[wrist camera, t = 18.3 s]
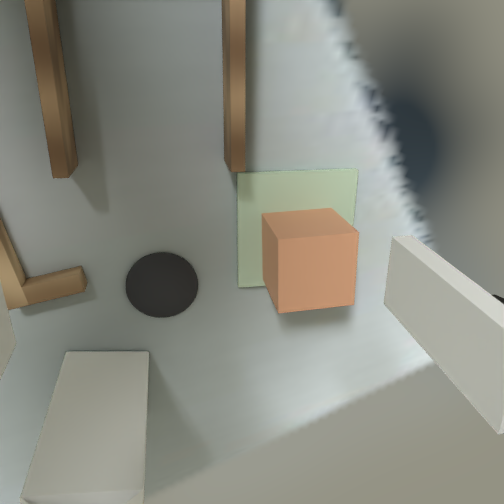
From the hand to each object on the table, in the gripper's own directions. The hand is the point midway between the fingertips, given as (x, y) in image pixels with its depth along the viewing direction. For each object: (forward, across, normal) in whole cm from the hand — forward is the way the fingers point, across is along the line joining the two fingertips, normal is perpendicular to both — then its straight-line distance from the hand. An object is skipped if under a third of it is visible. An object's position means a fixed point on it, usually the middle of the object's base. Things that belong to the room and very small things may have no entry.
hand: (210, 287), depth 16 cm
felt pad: (+22, +9, -7) cm, 25 cm away
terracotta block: (+22, +9, -8) cm, 25 cm away
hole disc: (+22, -2, -11) cm, 25 cm away
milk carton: (+22, -8, -21) cm, 31 cm away
